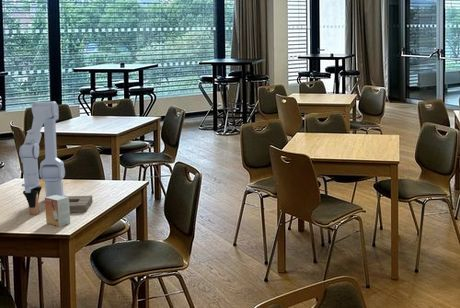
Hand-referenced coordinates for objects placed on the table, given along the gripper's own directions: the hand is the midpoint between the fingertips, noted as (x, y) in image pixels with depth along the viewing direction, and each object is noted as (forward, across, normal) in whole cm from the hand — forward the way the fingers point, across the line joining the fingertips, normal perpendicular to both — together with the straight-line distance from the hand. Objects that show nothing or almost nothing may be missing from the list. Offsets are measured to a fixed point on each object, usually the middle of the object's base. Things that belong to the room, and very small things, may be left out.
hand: (33, 205), depth 264 cm
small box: (+4, +15, +13) cm, 20 cm away
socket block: (+3, -8, +14) cm, 16 cm away
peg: (+3, 0, 0) cm, 3 cm away
